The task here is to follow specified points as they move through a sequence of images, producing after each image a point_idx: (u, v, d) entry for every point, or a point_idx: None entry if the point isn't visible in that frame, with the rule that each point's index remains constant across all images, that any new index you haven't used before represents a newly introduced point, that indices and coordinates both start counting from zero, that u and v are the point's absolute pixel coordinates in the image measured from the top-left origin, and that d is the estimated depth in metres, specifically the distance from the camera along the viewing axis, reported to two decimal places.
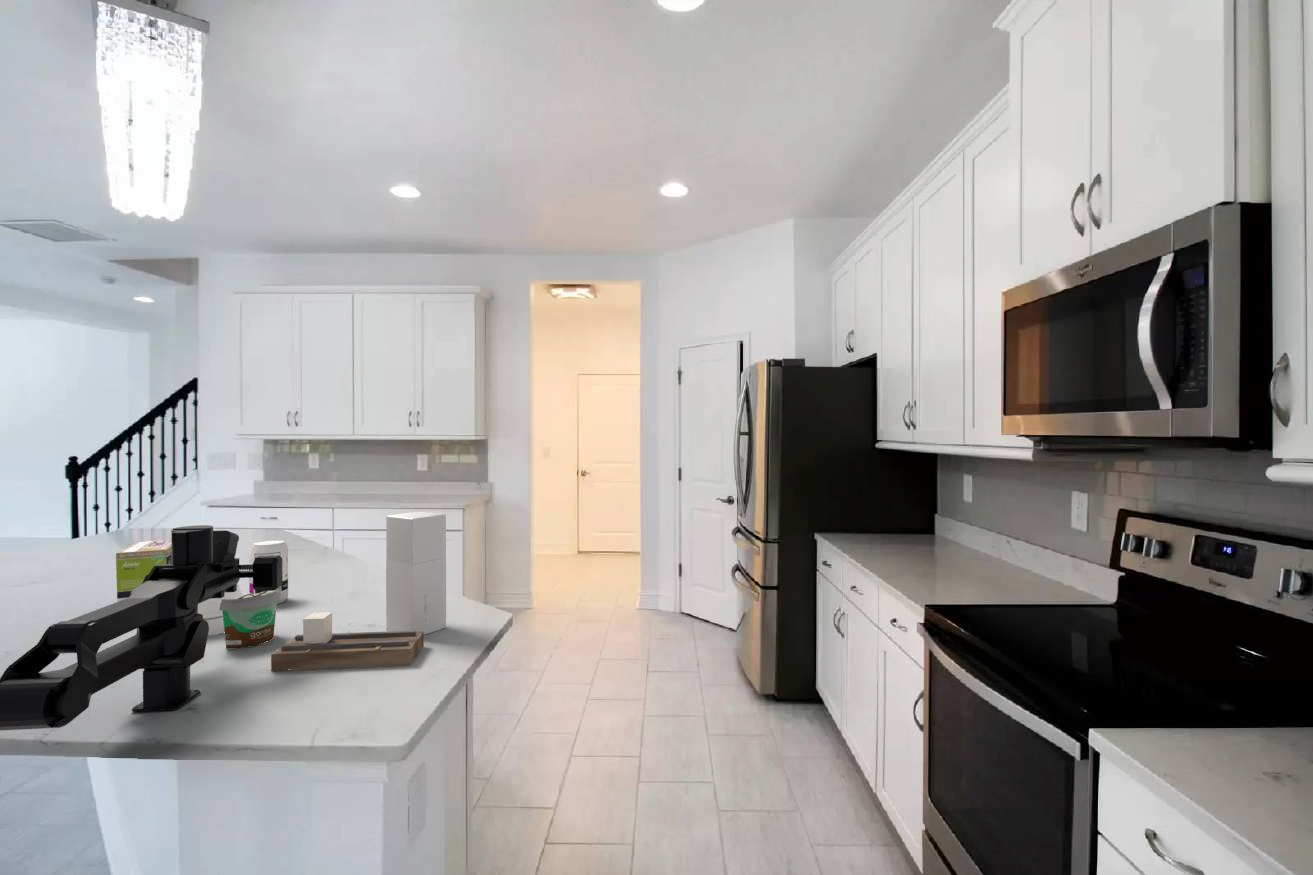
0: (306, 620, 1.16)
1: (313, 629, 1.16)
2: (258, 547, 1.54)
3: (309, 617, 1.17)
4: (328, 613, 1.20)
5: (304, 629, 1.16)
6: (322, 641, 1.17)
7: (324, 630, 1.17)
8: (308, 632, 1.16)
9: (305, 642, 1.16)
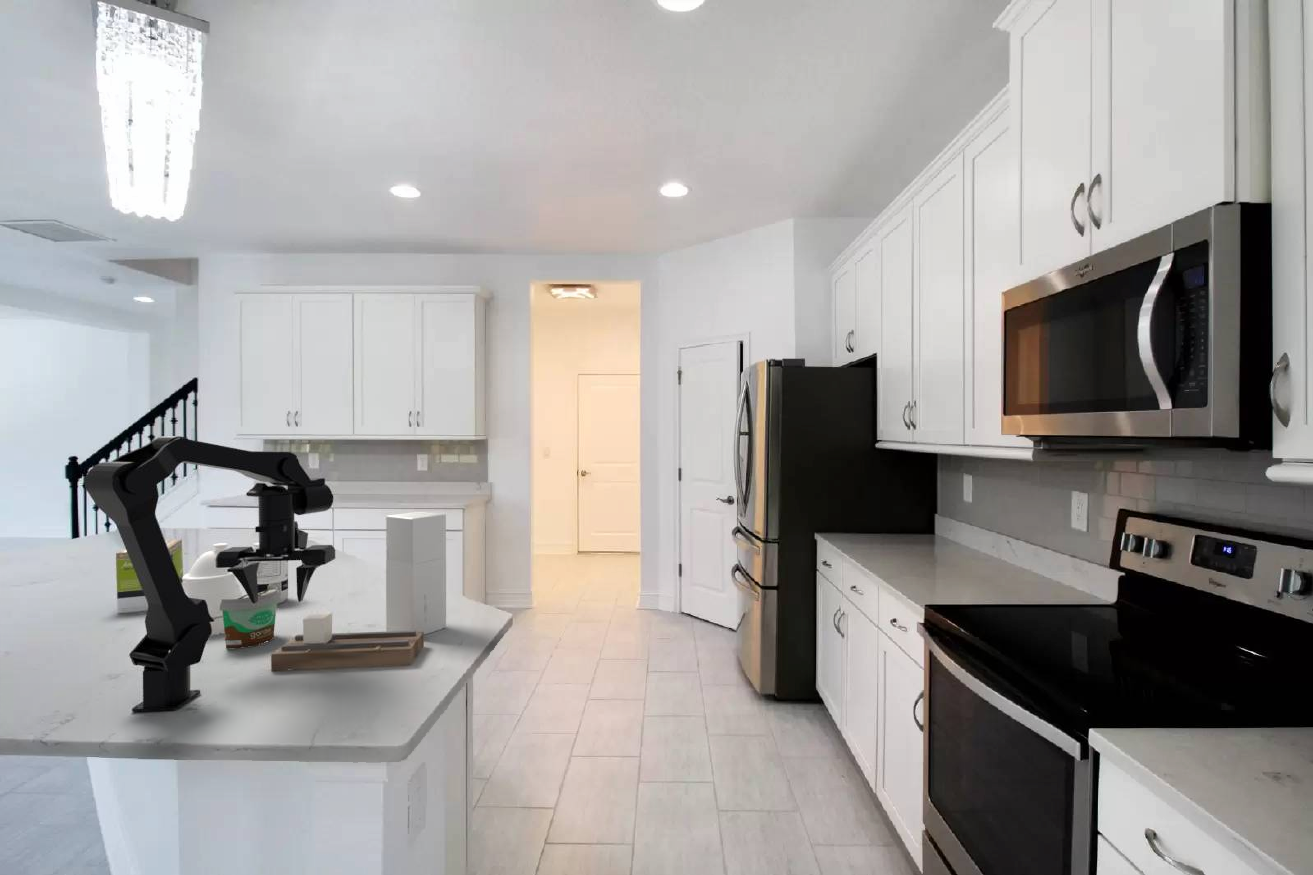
0: (306, 620, 1.16)
1: (313, 629, 1.16)
2: (258, 547, 1.54)
3: (309, 617, 1.17)
4: (328, 613, 1.20)
5: (304, 629, 1.16)
6: (322, 641, 1.17)
7: (324, 630, 1.17)
8: (308, 632, 1.16)
9: (305, 642, 1.16)
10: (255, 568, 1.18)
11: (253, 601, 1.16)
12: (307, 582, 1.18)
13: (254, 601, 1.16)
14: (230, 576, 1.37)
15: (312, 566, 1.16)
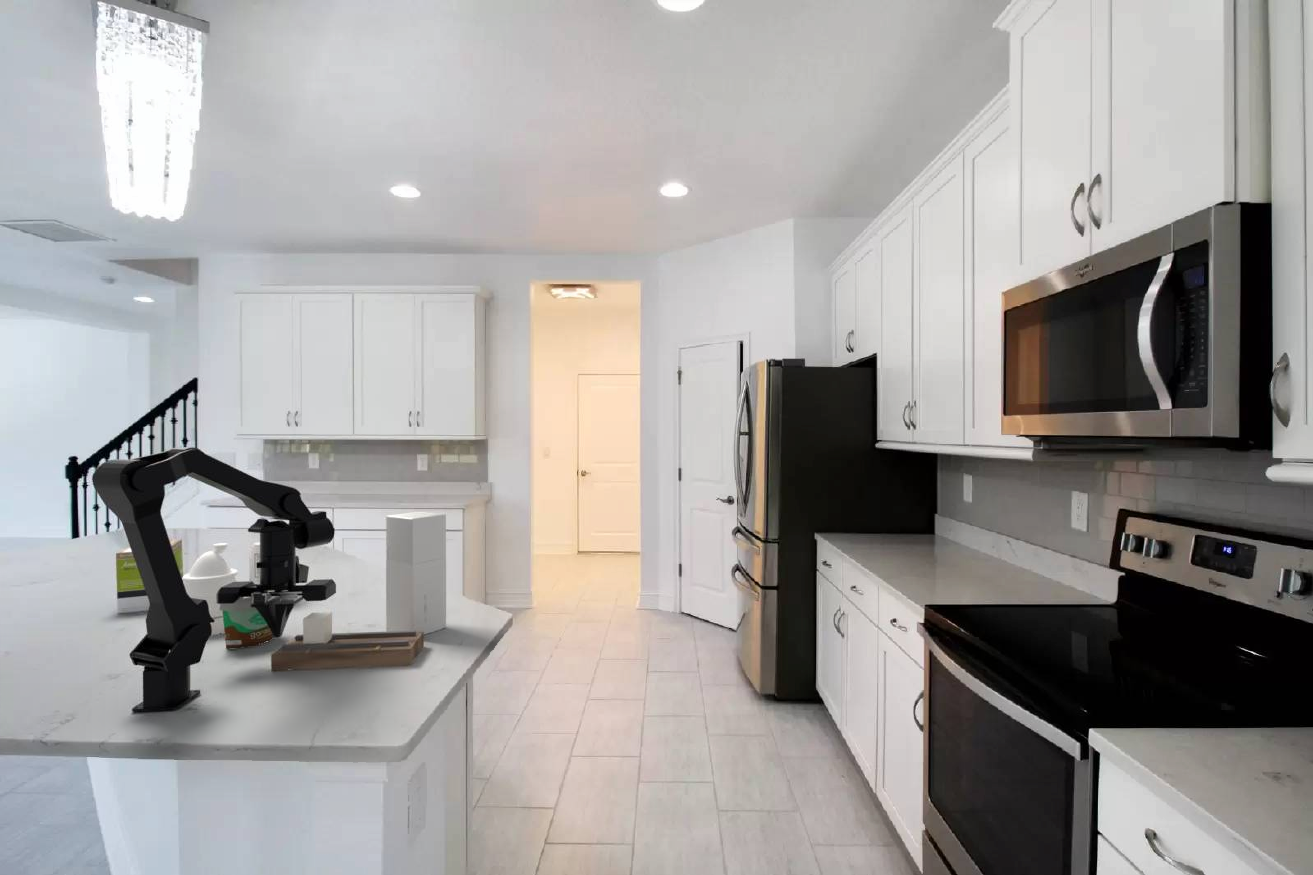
0: (306, 620, 1.16)
1: (313, 629, 1.16)
2: (258, 547, 1.54)
3: (309, 617, 1.17)
4: (328, 613, 1.20)
5: (304, 629, 1.16)
6: (322, 641, 1.17)
7: (324, 630, 1.17)
8: (308, 632, 1.16)
9: (305, 642, 1.16)
10: (277, 602, 1.18)
11: (275, 636, 1.17)
12: (286, 618, 1.18)
13: (276, 636, 1.17)
14: (230, 576, 1.37)
15: (291, 602, 1.16)
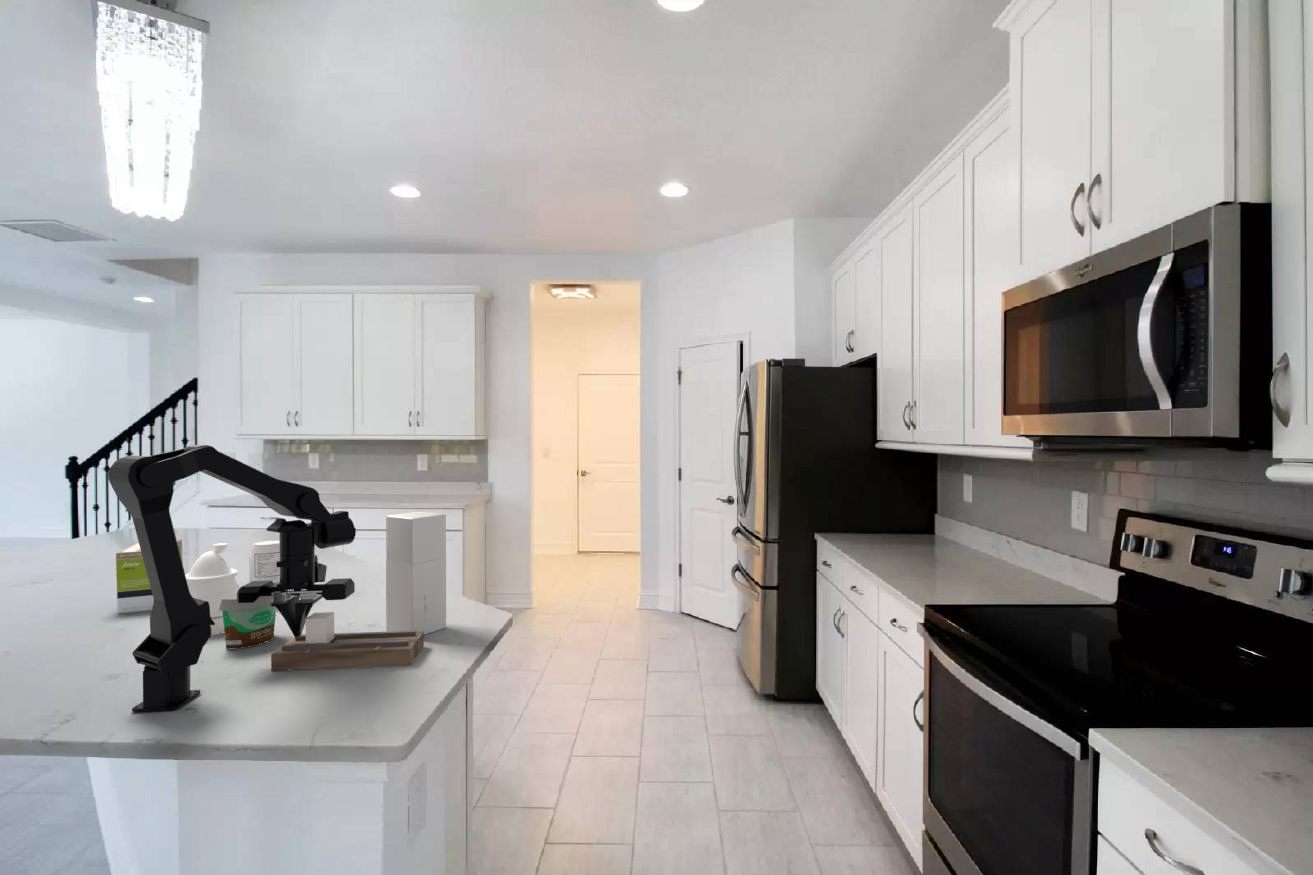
0: (308, 620, 1.16)
1: (315, 629, 1.16)
2: (258, 547, 1.54)
3: (311, 617, 1.17)
4: (330, 613, 1.20)
5: (306, 629, 1.16)
6: (324, 641, 1.17)
7: (327, 630, 1.17)
8: (310, 632, 1.16)
9: (307, 642, 1.16)
10: (296, 601, 1.19)
11: (295, 634, 1.17)
12: (305, 617, 1.18)
13: (296, 634, 1.17)
14: (230, 576, 1.37)
15: (311, 601, 1.16)
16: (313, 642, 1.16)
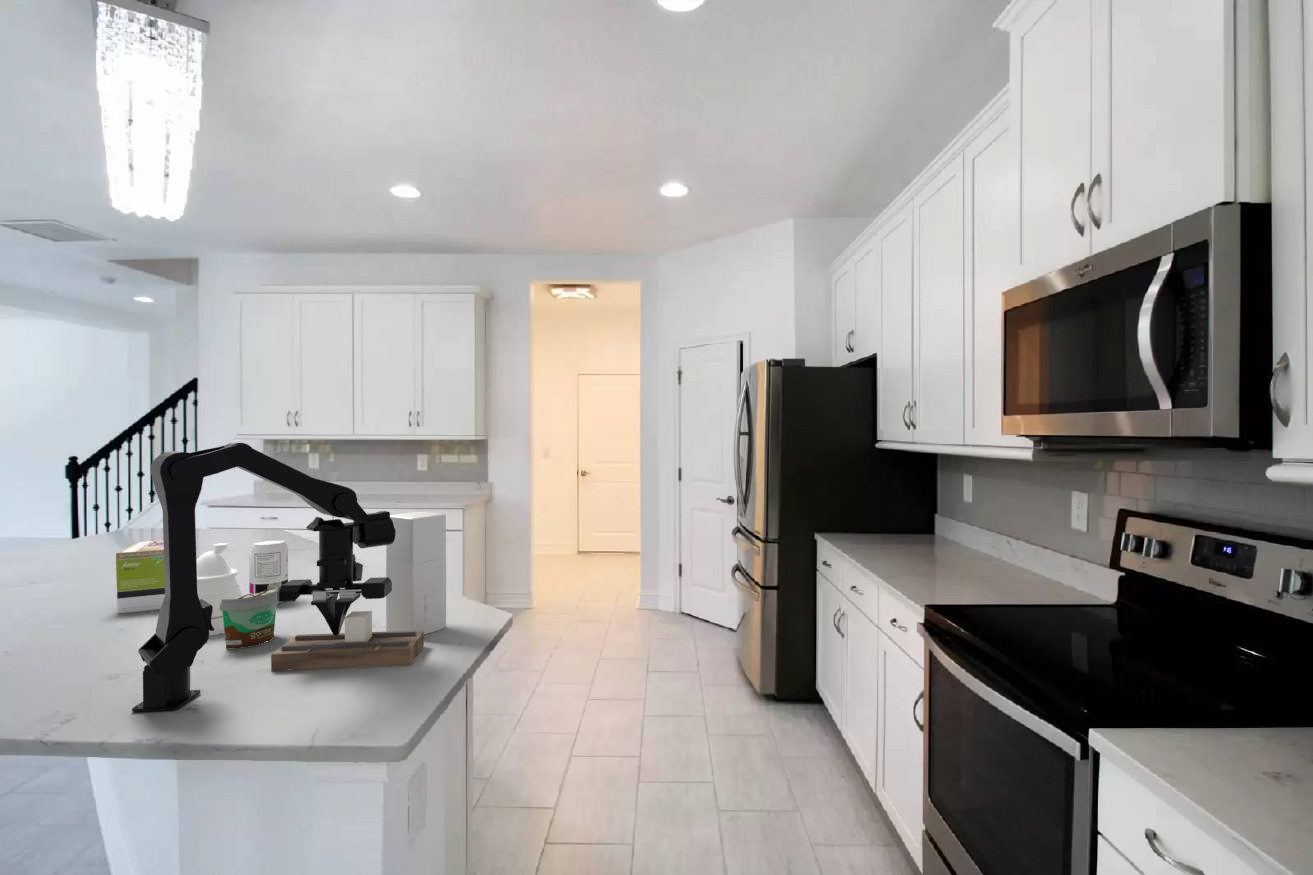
0: (348, 619, 1.17)
1: (354, 627, 1.17)
2: (258, 547, 1.54)
3: (350, 616, 1.18)
4: (368, 612, 1.21)
5: (346, 628, 1.17)
6: (363, 639, 1.18)
7: (365, 629, 1.18)
8: (349, 631, 1.17)
9: (347, 640, 1.17)
10: (335, 600, 1.20)
11: (334, 633, 1.18)
12: (344, 615, 1.19)
13: (335, 633, 1.18)
14: (230, 576, 1.37)
15: (350, 600, 1.17)
16: (352, 641, 1.17)
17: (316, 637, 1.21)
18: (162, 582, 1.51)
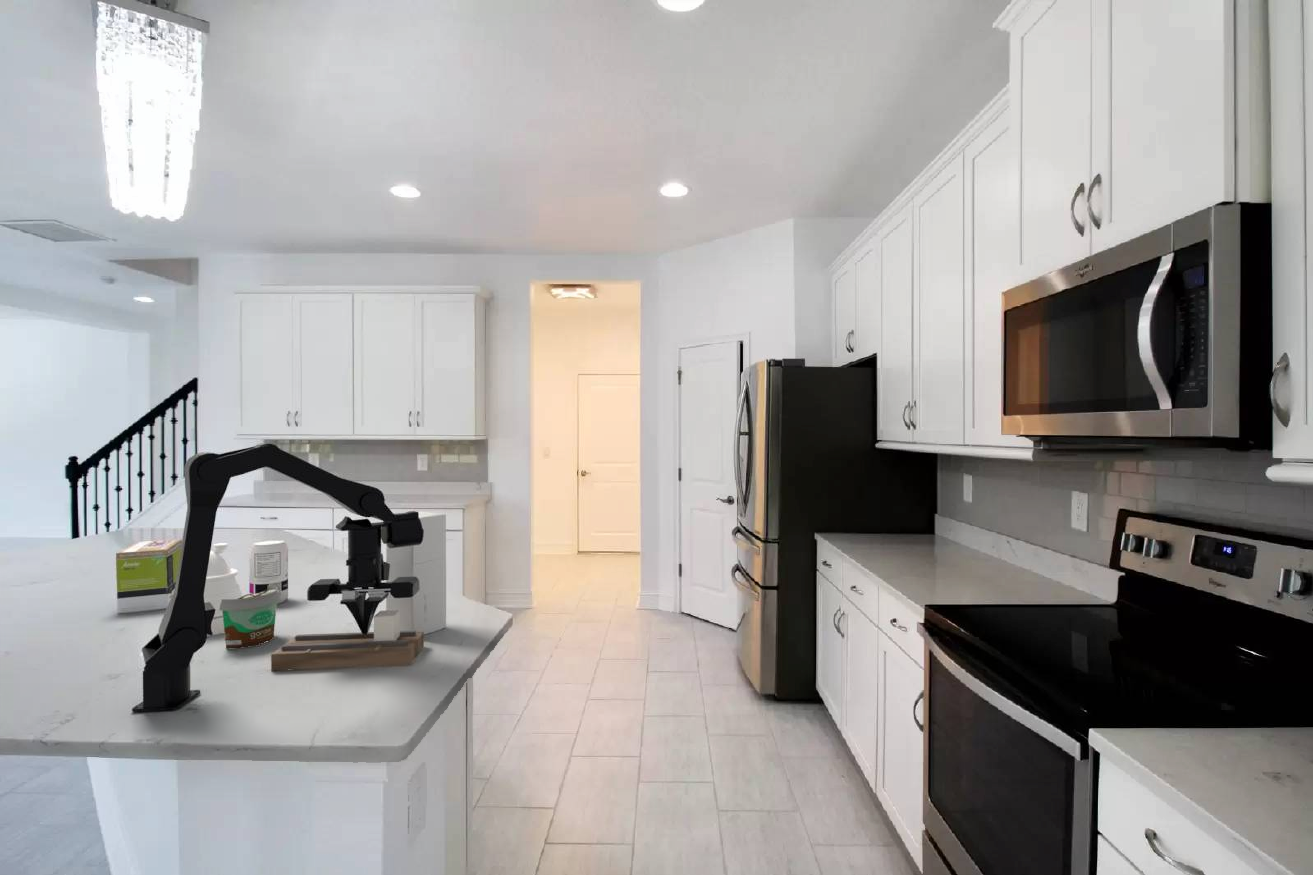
0: (377, 618, 1.18)
1: (383, 626, 1.18)
2: (258, 547, 1.54)
3: (379, 615, 1.19)
4: (396, 611, 1.21)
5: (375, 626, 1.18)
6: (392, 638, 1.18)
7: (394, 628, 1.19)
8: (378, 630, 1.18)
9: (376, 639, 1.18)
10: (363, 599, 1.21)
11: (363, 632, 1.19)
12: (373, 614, 1.20)
13: (364, 632, 1.19)
14: (230, 576, 1.37)
15: (379, 599, 1.18)
16: (381, 639, 1.18)
17: (316, 637, 1.21)
18: (163, 582, 1.51)
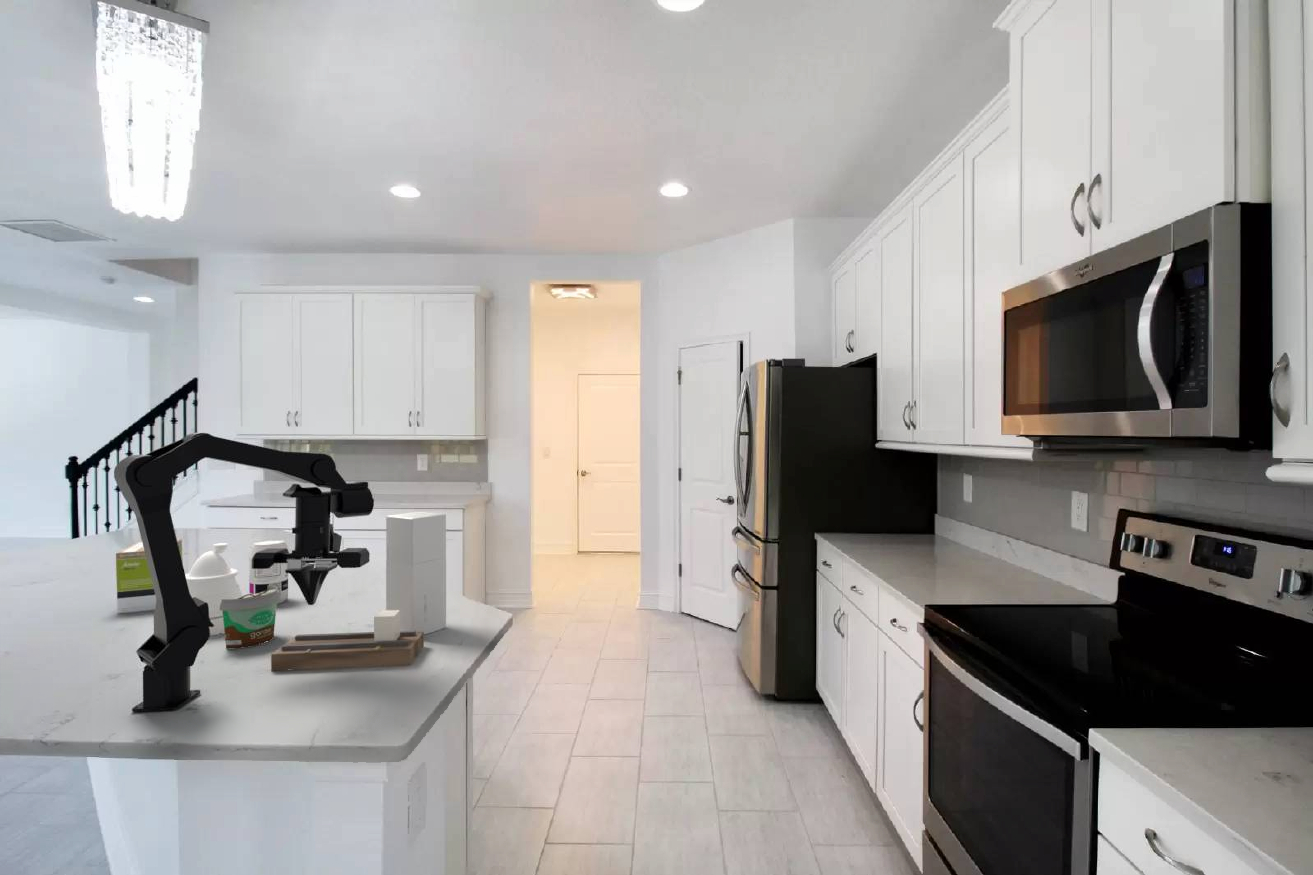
0: (377, 618, 1.18)
1: (384, 626, 1.18)
2: (258, 547, 1.54)
3: (379, 615, 1.19)
4: (396, 611, 1.21)
5: (375, 626, 1.18)
6: (392, 638, 1.18)
7: (394, 628, 1.19)
8: (378, 630, 1.18)
9: (376, 639, 1.18)
10: (311, 570, 1.18)
11: (309, 603, 1.16)
12: (320, 585, 1.17)
13: (310, 603, 1.16)
14: (230, 576, 1.37)
15: (325, 569, 1.15)
16: (381, 639, 1.18)
17: (316, 637, 1.21)
18: None
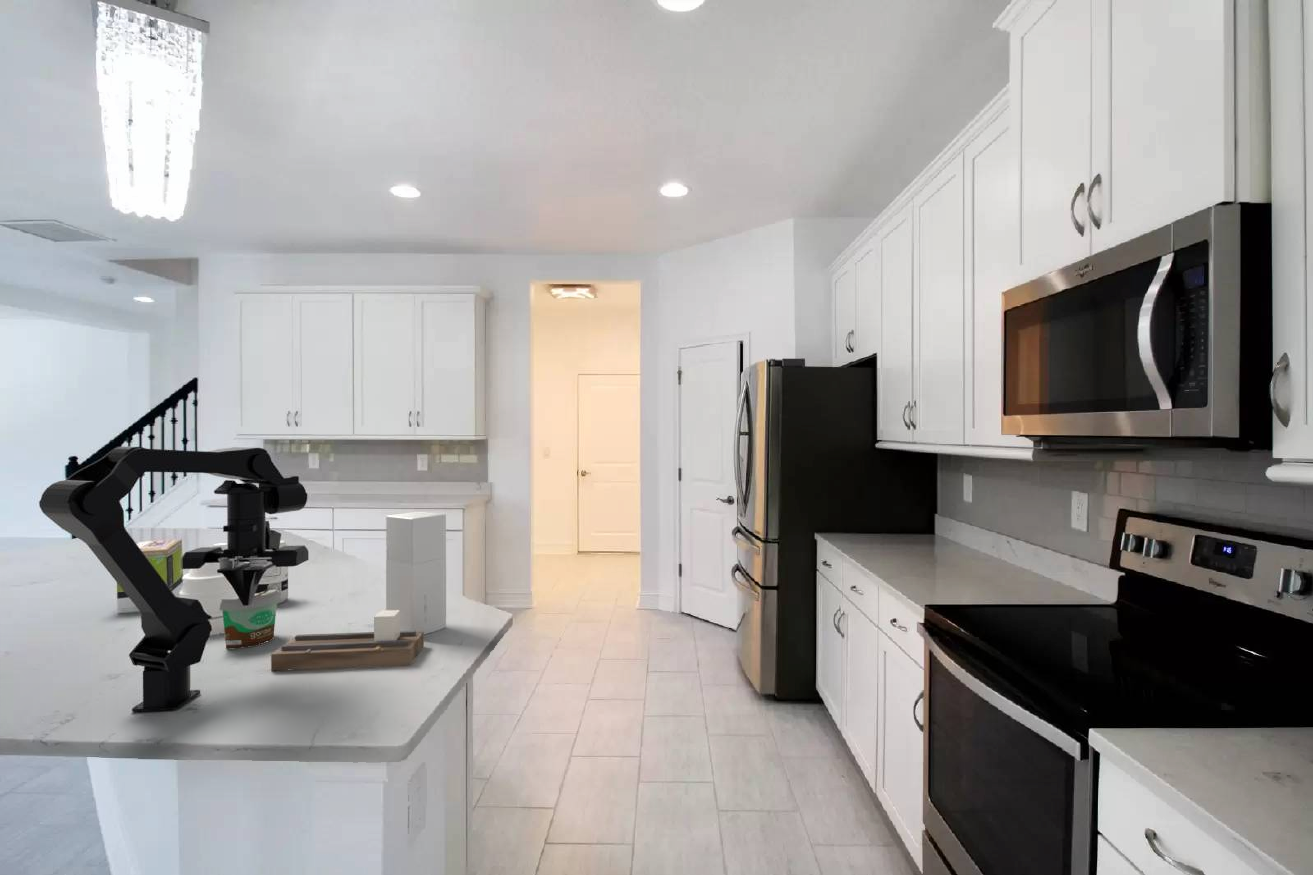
0: (377, 618, 1.18)
1: (384, 626, 1.18)
2: None
3: (379, 615, 1.19)
4: (396, 611, 1.21)
5: (375, 626, 1.18)
6: (392, 638, 1.18)
7: (394, 628, 1.19)
8: (378, 630, 1.18)
9: (376, 639, 1.18)
10: None
11: (244, 603, 1.11)
12: (255, 585, 1.12)
13: (245, 603, 1.11)
14: None
15: (260, 568, 1.10)
16: (381, 639, 1.18)
17: (316, 637, 1.21)
18: None
